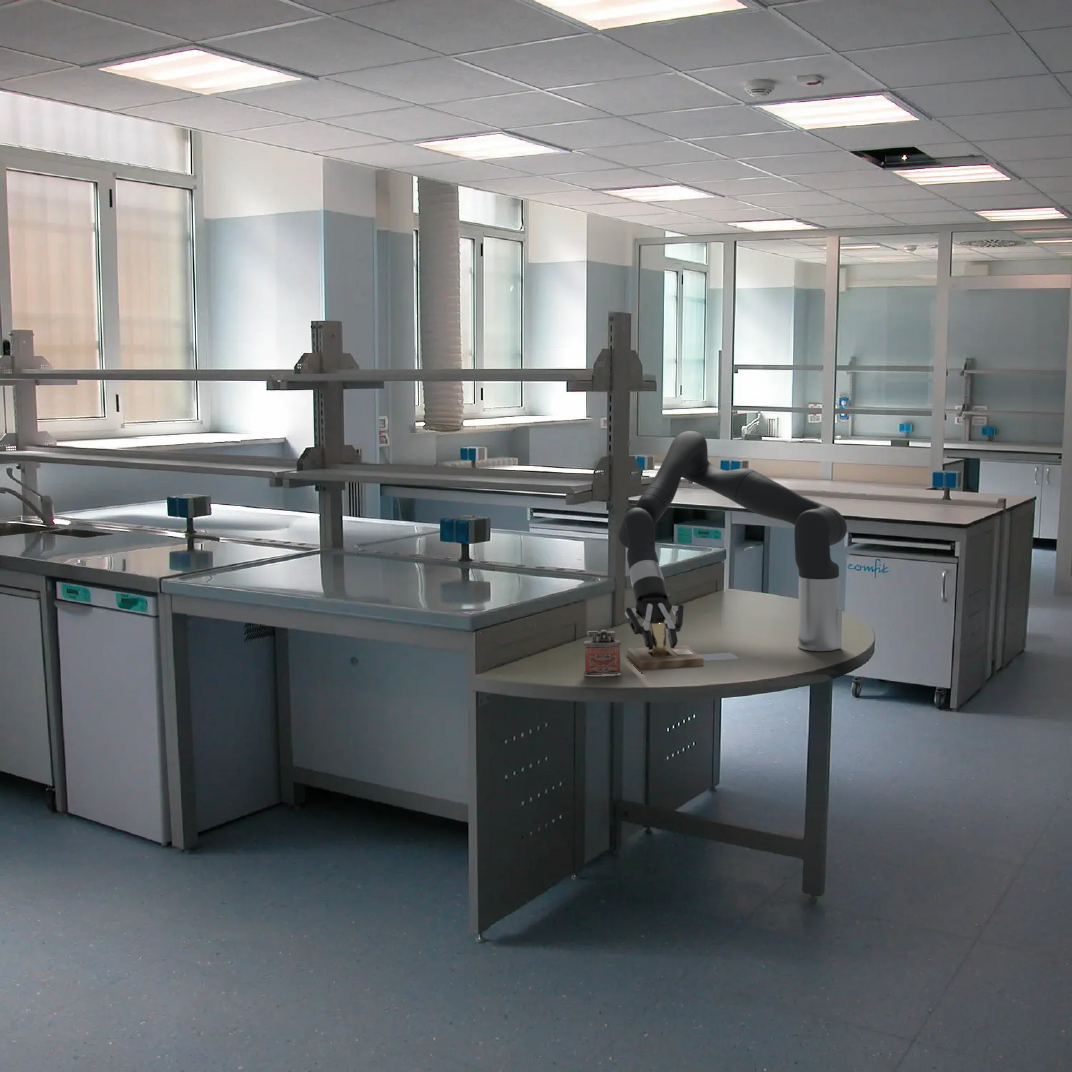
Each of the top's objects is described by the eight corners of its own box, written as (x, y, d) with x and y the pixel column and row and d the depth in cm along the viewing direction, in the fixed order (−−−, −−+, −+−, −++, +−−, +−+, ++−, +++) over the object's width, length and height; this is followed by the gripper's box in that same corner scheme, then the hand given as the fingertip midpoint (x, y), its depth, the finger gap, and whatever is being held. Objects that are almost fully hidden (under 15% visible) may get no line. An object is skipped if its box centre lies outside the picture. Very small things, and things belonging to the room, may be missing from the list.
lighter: (620, 672, 249) (619, 628, 247) (621, 676, 245) (621, 631, 244) (583, 673, 248) (583, 629, 247) (585, 677, 245) (584, 632, 244)
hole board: (686, 657, 260) (686, 644, 260) (703, 671, 247) (703, 657, 247) (627, 661, 258) (627, 648, 257) (641, 675, 245) (641, 661, 245)
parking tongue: (730, 658, 258) (730, 652, 258) (739, 665, 252) (739, 658, 252) (697, 661, 257) (697, 654, 257) (704, 667, 251) (704, 660, 251)
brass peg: (665, 664, 254) (663, 621, 253) (668, 667, 251) (666, 623, 250) (651, 665, 254) (649, 622, 253) (654, 668, 251) (652, 625, 249)
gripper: (674, 591, 264) (690, 653, 254) (615, 595, 262) (628, 657, 252) (681, 573, 258) (696, 636, 248) (620, 576, 256) (633, 639, 246)
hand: (662, 646), depth 250 cm, fingers open, 4 cm apart
